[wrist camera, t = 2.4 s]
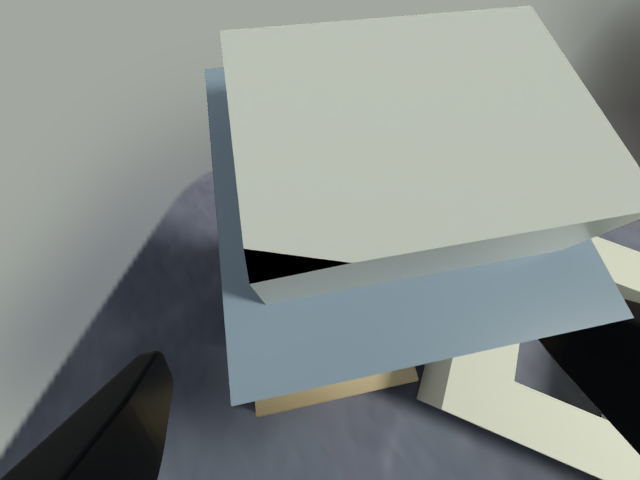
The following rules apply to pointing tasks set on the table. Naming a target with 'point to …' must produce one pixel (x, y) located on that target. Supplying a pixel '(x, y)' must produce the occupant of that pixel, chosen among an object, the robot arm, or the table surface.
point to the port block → (537, 396)
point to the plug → (406, 195)
